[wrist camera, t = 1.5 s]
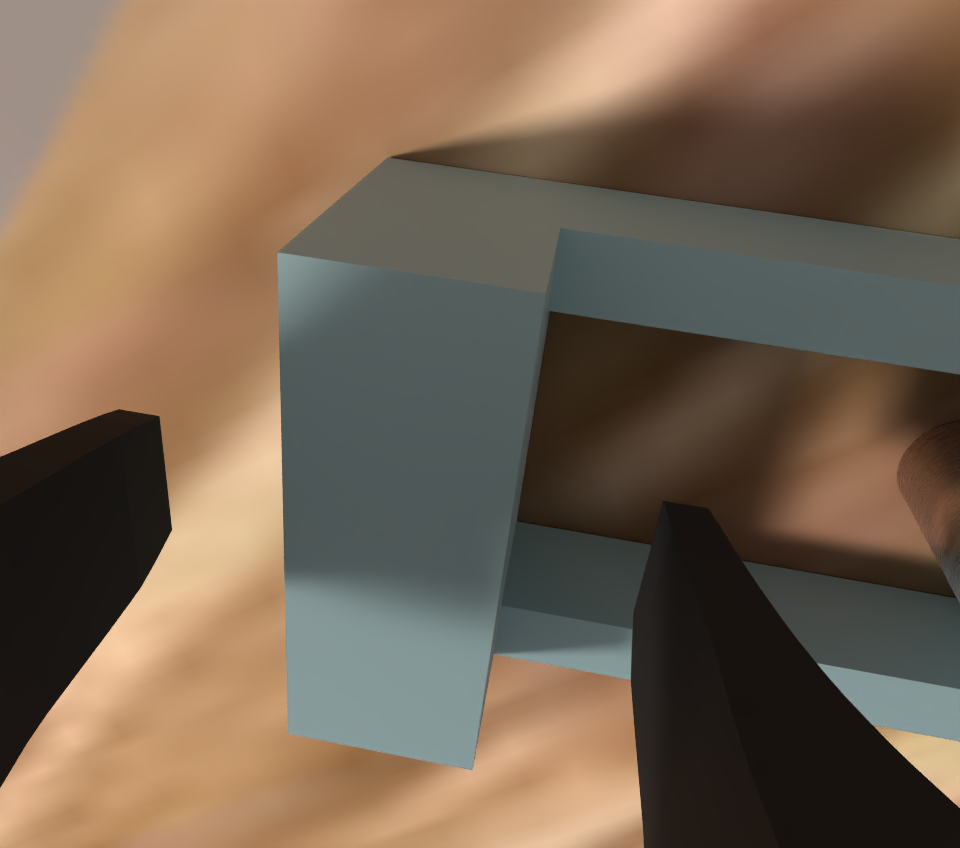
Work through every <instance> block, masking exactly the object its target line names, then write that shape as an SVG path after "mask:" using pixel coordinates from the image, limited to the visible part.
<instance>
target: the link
mask: <svg viewBox="0 0 960 848" xmlns="http://www.w3.org/2000/svg"><path fill="white" fill-rule="evenodd" d="M277 256H278V301H279V347H280V392H281V437H282V482H283V527H284V573H285V618H286V663H287V708H288V734H293V735H298V736H303V737H308V738H313V739H318V740H323V741H328V742H333V743H338V744H343V745H348V746H353V747H358V748H363V749H368V750H373V751H378V752H383V753H388V754H393V755H398V756H403V757H408V758H413V759H418V760H423V761H428V762H433V763H438V764H443V765H449V766H454V767H459V768H464V769H469V770H472V769H473V764H474V759H475V753H476V748H477V742H478V737H479V731H480V726H481V720H482V715H483V709H484V704H485V698H486V693H487V687H488V682H489V676H490V671H491V665H492V660H493V654H496V655H501V656H507V657H512V658H517V659H523V660H528V661H533V662H539V663H544V664H549V665H555V666H560V667H565V668H571V669H576V670H581V671H587V672H592V673H597V674H602V675H608V676H613V677H618V678H624V679H629V680H631V654H632V631H633V612H634V608H635V604H636V601H637V597H638V593H639V589H640V586H641V582H642V578H643V574H644V571H645V567H646V563H647V560H648V556H649V552H650V548H651V545H649V544H643V543H638V542H632V541H626V540H620V539H615V538H609V537H603V536H598V535H592V534H586V533H580V532H575V531H569V530H563V529H558V528H552V527H546V526H540V525H535V524H529V523H523V522H517V516H518V510H519V503H520V497H521V491H522V484H523V478H524V472H525V465H526V459H527V453H528V447H529V440H530V434H531V428H532V421H533V415H534V409H535V402H536V396H537V390H538V383H539V377H540V371H541V365H542V358H543V352H544V346H545V339H546V333H547V327H548V320H549V314H550V311H553V312H559V313H566V314H572V315H579V316H585V317H592V318H598V319H605V320H611V321H617V322H624V323H630V324H637V325H643V326H650V327H656V328H663V329H669V330H676V331H682V332H689V333H695V334H701V335H708V336H714V337H721V338H727V339H734V340H740V341H747V342H753V343H760V344H766V345H773V346H779V347H786V348H792V349H798V350H805V351H811V352H818V353H824V354H831V355H837V356H844V357H850V358H857V359H863V360H870V361H876V362H882V363H889V364H895V365H902V366H908V367H915V368H921V369H928V370H934V371H941V372H947V373H954V374H960V239H956V238H949V237H942V236H935V235H928V234H921V233H914V232H906V231H899V230H892V229H885V228H878V227H871V226H864V225H857V224H850V223H843V222H836V221H829V220H822V219H815V218H808V217H801V216H794V215H787V214H780V213H773V212H766V211H759V210H752V209H745V208H738V207H731V206H724V205H717V204H710V203H703V202H696V201H689V200H682V199H675V198H668V197H661V196H654V195H647V194H640V193H633V192H626V191H619V190H612V189H605V188H598V187H591V186H584V185H577V184H570V183H563V182H556V181H549V180H542V179H535V178H528V177H521V176H514V175H507V174H500V173H493V172H486V171H479V170H472V169H465V168H458V167H451V166H444V165H437V164H430V163H423V162H416V161H409V160H402V159H395V158H387V159H385V160H384V161H383V162H382V163H381V164H380V165H378V166H377V167H376V168H375V169H374V170H373V171H371V172H370V173H369V174H368V175H367V176H366V177H364V178H363V179H362V180H361V181H360V182H359V183H358V184H356V185H355V186H354V187H353V188H352V189H351V190H349V191H348V192H347V193H346V194H345V195H344V196H342V197H341V198H340V199H339V200H338V201H337V202H335V203H334V204H333V205H332V206H331V207H330V208H328V209H327V210H326V211H325V212H324V213H323V214H321V215H320V216H319V217H318V218H317V219H316V220H314V221H313V222H312V223H311V224H310V225H309V226H307V227H306V228H305V229H304V230H303V231H302V232H301V233H299V234H298V235H297V236H296V237H295V238H294V239H292V240H291V241H290V242H289V243H288V244H287V245H285V246H284V247H283V248H282V249H281V250H280V251H278V252H277ZM743 563H744V564H745V566H746V567H747V569H748V570H749V572H750V573H751V575H752V576H753V578H754V579H755V581H756V582H757V584H758V585H759V587H760V588H761V590H762V591H763V593H764V594H765V595H766V597H767V598H768V600H769V601H770V602H771V604H772V605H773V607H774V608H775V609H776V611H777V612H778V614H779V615H780V616H781V618H782V619H783V621H784V622H785V623H786V625H787V626H788V628H789V629H790V630H791V631H792V633H793V634H794V635H795V637H796V638H797V639H798V641H799V642H800V643H801V644H802V645H803V647H804V648H805V649H806V650H807V652H808V653H809V654H810V655H811V657H812V658H813V659H814V660H815V661H816V663H817V664H818V665H819V666H820V668H821V669H822V670H823V671H824V673H825V674H826V675H827V676H828V677H829V678H830V680H831V681H832V682H833V683H834V684H835V685H836V686H837V688H838V689H839V690H840V691H841V692H842V693H843V694H844V695H845V697H846V698H847V699H848V700H849V701H850V702H851V703H852V704H853V705H854V706H855V707H856V708H857V709H858V710H859V711H860V712H861V713H862V715H863V716H864V717H865V718H866V719H867V720H868V721H869V722H870V723H871V724H872V725H874V726H880V727H885V728H890V729H896V730H901V731H906V732H912V733H917V734H922V735H928V736H933V737H938V738H944V739H949V740H954V741H960V603H959V602H958V600H957V598H952V597H946V596H941V595H935V594H929V593H924V592H918V591H912V590H906V589H901V588H895V587H889V586H884V585H878V584H872V583H866V582H861V581H855V580H849V579H843V578H838V577H832V576H826V575H821V574H815V573H809V572H803V571H798V570H792V569H786V568H781V567H775V566H769V565H763V564H758V563H752V562H746V561H743Z"/></svg>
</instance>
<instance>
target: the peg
mask: <svg viewBox="0 0 960 848" xmlns="http://www.w3.org/2000/svg"><path fill="white" fill-rule="evenodd" d="M897 481H898V486H899V489H900V491H901V493H902V495H903V497H904V499H905V501H906V503H907V505H908V506H909V508H910V510H911V512H912V514H913V516H914V518H915V520H916V522H917V524H918V525H919V527H920V529H921V531H922V533H923V535H924V537H925V539H926V541H927V543H928V544H929V546H930V548H931V550H932V552H933V554H934V556H935V558H936V560H937V562H938V563H939V565H940V567H941V569H942V571H943V573H944V575H945V577H946V579H947V581H948V583H949V584H950V586H951V588H952V590H953V592H954V594H955V596H956V598H957V600H958V602H959V603H960V421H959V422H953V423H949V424H945V425H942V426H939V427H937V428H935V429H932V430H931V431H929V432H927V433H925V434H924V435H922V436H921V437H919V438H918V439H917V440H916V441H915V442H914V443H912V445H911V446H910V447H909V448H908V449H907V450H906V452H905V453H904V455H903V457H902V459H901V461H900V463H899V466H898V471H897Z"/></svg>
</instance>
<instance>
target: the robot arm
mask: <svg viewBox="0 0 960 848" xmlns="http://www.w3.org/2000/svg"><path fill="white" fill-rule="evenodd" d="M171 531H172V525H171V516H170V507H169V498H168V489H167V480H166V471H165V462H164V453H163V444H162V435H161V426H160V418H159V416H155V415H149V414H143V413H137V412H131V411H125V410H120V409H119V410H116V411H113V412H109V413H106V414H103V415H101V416H98V417H95V418H93V419H90V420H87V421H85V422H82V423H80V424H78V425H75V426H73V427H70V428H68V429H65V430H63V431H61V432H58V433H56V434H54V435H51V436H49V437H47V438H44V439H42V440H39V441H37V442H35V443H32V444H30V445H28V446H25V447H23V448H21V449H18V450H16V451H13V452H11V453H9V454H6V455H4V456H2V457H0V787H1V786H2V784H3V782H4V781H5V779H6V777H7V776H8V774H9V772H10V771H11V769H12V767H13V766H14V764H15V762H16V761H17V759H18V757H19V756H20V754H21V752H22V751H23V749H24V747H25V746H26V744H27V742H28V741H29V739H30V738H31V737H32V735H33V734H34V732H35V731H36V729H37V728H38V726H39V725H40V723H41V722H42V721H43V719H44V718H45V716H46V715H47V713H48V712H49V711H50V709H51V708H52V707H53V705H54V704H55V703H56V701H57V700H58V699H59V697H60V696H61V695H62V693H63V692H64V691H65V689H66V688H67V687H68V685H69V684H70V683H71V681H72V680H73V679H74V677H75V676H76V675H77V673H78V672H79V671H80V669H81V668H82V667H83V665H84V664H85V663H86V661H87V660H88V659H89V657H90V656H91V655H92V653H93V652H94V651H95V649H96V648H97V647H98V645H99V644H100V643H101V641H102V640H103V639H104V637H105V636H106V635H107V633H108V632H109V631H110V629H111V628H112V626H113V625H114V624H115V622H116V621H117V620H118V618H119V617H120V616H121V614H122V613H123V611H124V610H125V609H126V607H127V606H128V605H129V603H130V602H131V601H132V599H133V598H134V596H135V595H136V594H137V592H138V591H139V589H140V588H141V586H142V585H143V583H144V581H145V579H146V577H147V576H148V574H149V572H150V570H151V569H152V567H153V565H154V563H155V562H156V560H157V558H158V556H159V554H160V552H161V550H162V548H163V546H164V544H165V542H166V540H167V539H168V537H169V535H170V533H171ZM631 688H632V701H633V714H634V726H635V738H636V750H637V762H638V774H639V785H640V797H641V809H642V821H643V834H644V848H960V808H959V807H958V806H957V805H956V804H954V803H953V802H952V801H951V800H950V799H949V798H948V797H947V796H946V795H945V794H944V793H942V792H941V791H940V790H939V789H938V788H937V787H936V786H935V785H934V784H933V783H932V782H930V781H929V780H928V779H927V778H926V777H925V776H924V775H923V774H922V773H921V772H920V771H918V770H917V769H916V768H915V767H914V766H913V765H912V764H911V763H910V762H909V761H908V760H907V759H906V758H905V757H904V756H903V755H902V754H901V753H899V752H898V751H897V750H896V749H895V748H894V747H893V746H892V745H891V744H890V743H889V742H888V741H887V740H886V739H885V738H884V737H883V736H882V735H881V734H880V733H879V731H878V730H877V729H876V728H875V727H874V726H873V725H872V724H871V723H870V722H869V721H868V720H867V719H866V718H865V717H864V716H863V715H862V713H861V712H860V711H859V710H858V709H857V708H856V707H855V706H854V705H853V704H852V703H851V702H850V701H849V700H848V699H847V698H846V697H845V695H844V694H843V693H842V692H841V691H840V690H839V689H838V688H837V686H836V685H835V684H834V683H833V682H832V681H831V680H830V678H829V677H828V676H827V675H826V674H825V673H824V671H823V670H822V669H821V668H820V666H819V665H818V664H817V663H816V661H815V660H814V659H813V658H812V657H811V655H810V654H809V653H808V652H807V650H806V649H805V648H804V647H803V645H802V644H801V643H800V642H799V641H798V639H797V638H796V637H795V635H794V634H793V633H792V631H791V630H790V629H789V628H788V626H787V625H786V623H785V622H784V621H783V619H782V618H781V616H780V615H779V614H778V612H777V611H776V609H775V608H774V607H773V605H772V604H771V602H770V601H769V600H768V598H767V597H766V595H765V594H764V593H763V591H762V590H761V588H760V587H759V585H758V584H757V582H756V581H755V579H754V578H753V576H752V575H751V573H750V572H749V570H748V569H747V567H746V566H745V564H744V563H743V561H742V560H741V558H740V557H739V555H738V554H737V552H736V550H735V549H734V547H733V546H732V544H731V543H730V541H729V540H728V538H727V536H726V535H725V533H724V532H723V530H722V529H721V527H720V525H719V524H718V522H717V521H716V519H715V518H714V516H713V515H712V513H711V512H710V510H709V509H708V508H702V507H696V506H690V505H684V504H678V503H672V502H667V501H663V504H662V508H661V511H660V515H659V519H658V522H657V526H656V530H655V534H654V537H653V541H652V545H651V548H650V552H649V556H648V560H647V563H646V567H645V571H644V574H643V578H642V582H641V586H640V589H639V593H638V597H637V601H636V604H635V608H634V612H633V631H632V654H631Z"/></svg>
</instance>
